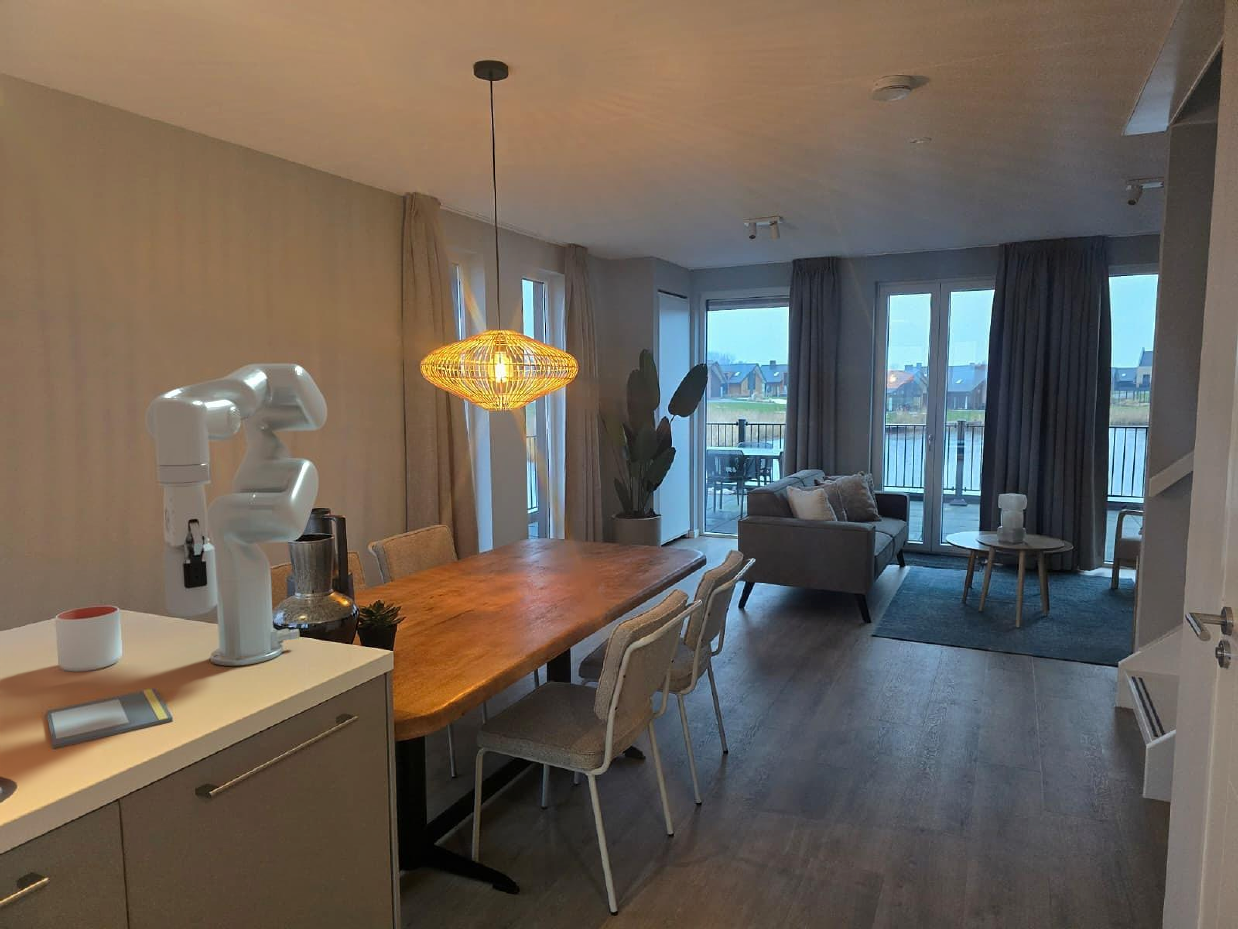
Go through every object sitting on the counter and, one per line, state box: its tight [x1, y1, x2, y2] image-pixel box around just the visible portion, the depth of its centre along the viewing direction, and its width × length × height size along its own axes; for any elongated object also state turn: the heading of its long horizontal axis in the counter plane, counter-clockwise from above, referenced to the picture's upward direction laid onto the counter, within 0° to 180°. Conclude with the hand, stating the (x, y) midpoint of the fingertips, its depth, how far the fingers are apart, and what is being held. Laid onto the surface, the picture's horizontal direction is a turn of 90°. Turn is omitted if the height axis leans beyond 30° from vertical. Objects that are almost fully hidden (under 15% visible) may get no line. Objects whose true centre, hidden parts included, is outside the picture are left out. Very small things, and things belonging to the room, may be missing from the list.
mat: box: [45, 688, 174, 749], centre depth 123 cm, size 15×16×1 cm
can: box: [162, 537, 218, 617], centre depth 129 cm, size 8×8×12 cm
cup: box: [54, 605, 123, 673], centre depth 148 cm, size 10×10×10 cm
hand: (190, 581), depth 129 cm, fingers closed on can, 7 cm apart
